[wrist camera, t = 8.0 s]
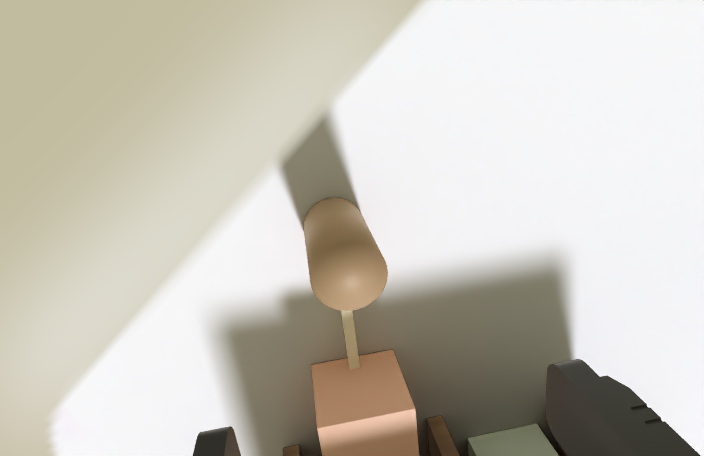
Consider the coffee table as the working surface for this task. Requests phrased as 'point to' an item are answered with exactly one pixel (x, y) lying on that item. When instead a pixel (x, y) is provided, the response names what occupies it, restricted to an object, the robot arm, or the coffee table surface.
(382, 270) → the tethered block
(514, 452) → the shelf block
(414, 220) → the coffee table surface
